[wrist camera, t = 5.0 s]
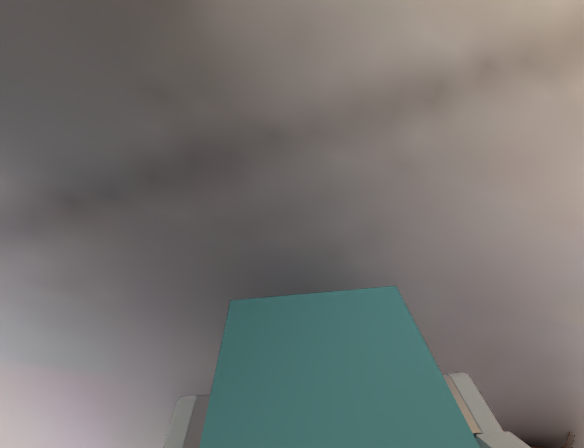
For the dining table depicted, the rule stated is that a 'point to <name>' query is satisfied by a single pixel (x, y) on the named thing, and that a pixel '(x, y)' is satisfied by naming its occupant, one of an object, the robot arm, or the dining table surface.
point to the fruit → (568, 444)
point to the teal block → (329, 376)
